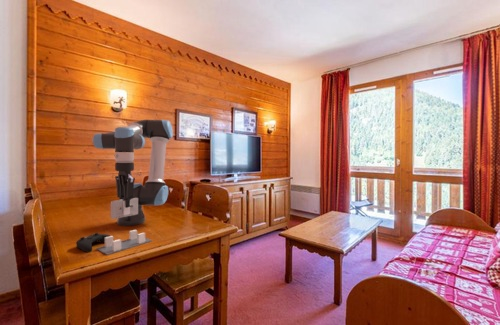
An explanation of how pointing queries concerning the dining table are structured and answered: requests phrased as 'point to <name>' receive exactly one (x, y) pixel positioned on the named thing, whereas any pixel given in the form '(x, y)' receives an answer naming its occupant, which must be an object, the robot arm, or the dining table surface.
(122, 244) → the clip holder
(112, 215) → the cassette
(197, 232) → the dining table surface
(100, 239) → the gaming controller
